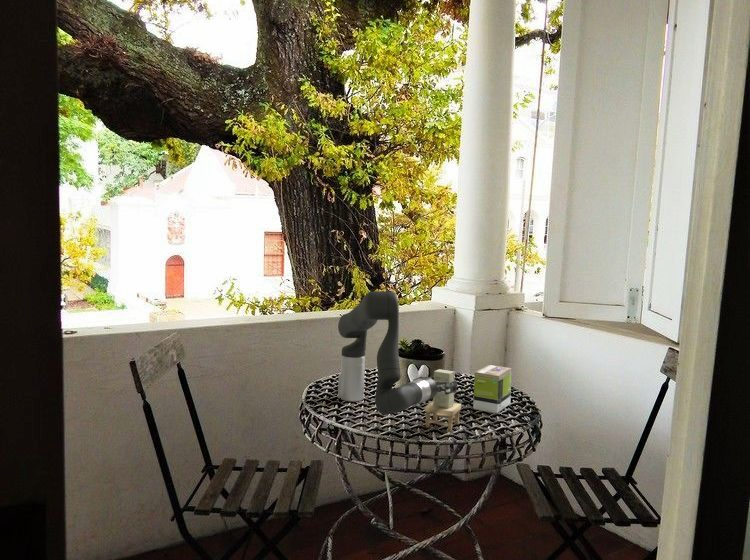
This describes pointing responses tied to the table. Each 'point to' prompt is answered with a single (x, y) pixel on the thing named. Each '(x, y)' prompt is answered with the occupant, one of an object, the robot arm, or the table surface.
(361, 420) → the table surface
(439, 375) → the skincare box
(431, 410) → the wooden stool
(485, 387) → the tea box
